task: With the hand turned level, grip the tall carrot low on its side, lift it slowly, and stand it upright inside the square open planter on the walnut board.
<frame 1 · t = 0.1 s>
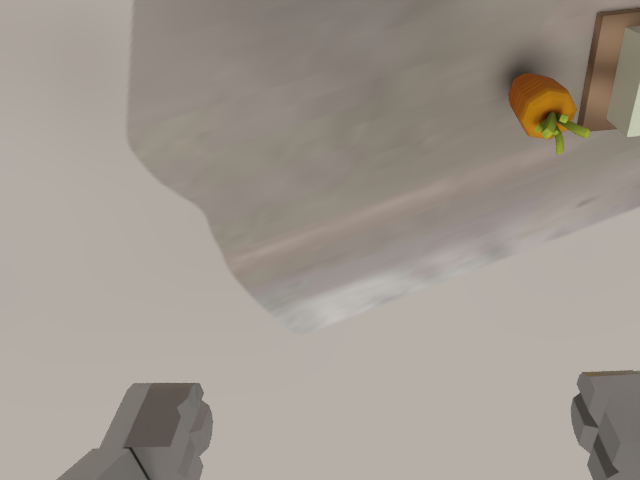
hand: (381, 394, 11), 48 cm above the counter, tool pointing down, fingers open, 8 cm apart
carrot: (517, 80, 53), on the counter
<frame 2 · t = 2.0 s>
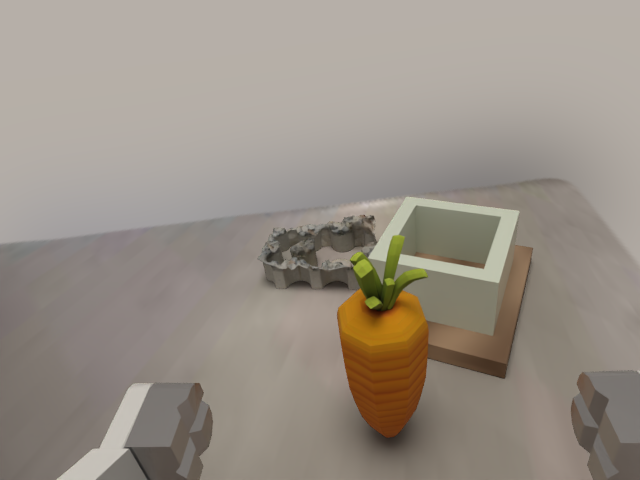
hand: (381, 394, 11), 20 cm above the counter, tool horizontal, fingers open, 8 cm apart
walnut board: (444, 296, 42), on the counter
carrot: (389, 435, 32), on the counter
egg carton: (322, 270, 47), on the counter
square open planter: (445, 259, 39), on the walnut board, point 4 cm above the counter
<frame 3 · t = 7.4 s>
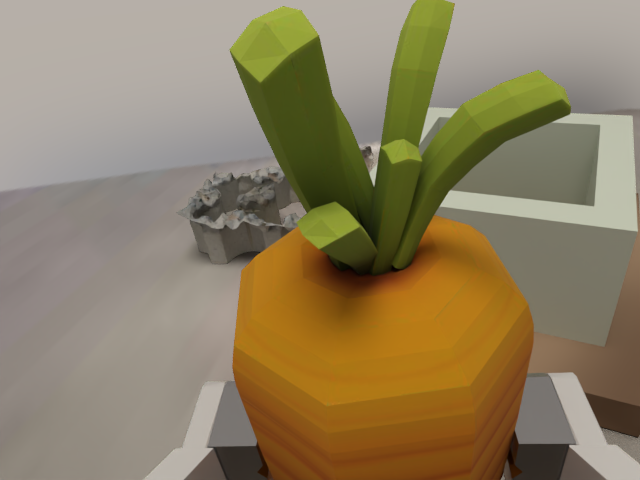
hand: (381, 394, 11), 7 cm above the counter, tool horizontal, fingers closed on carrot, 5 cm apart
walnut board: (490, 275, 24), on the counter
egg carton: (290, 236, 30), on the counter
square open planter: (496, 205, 22), on the walnut board, point 4 cm above the counter
when the fingers open (11 cm above the counter, at t = 15.8 s): carrot drops 2 cm, resting on walnut board.
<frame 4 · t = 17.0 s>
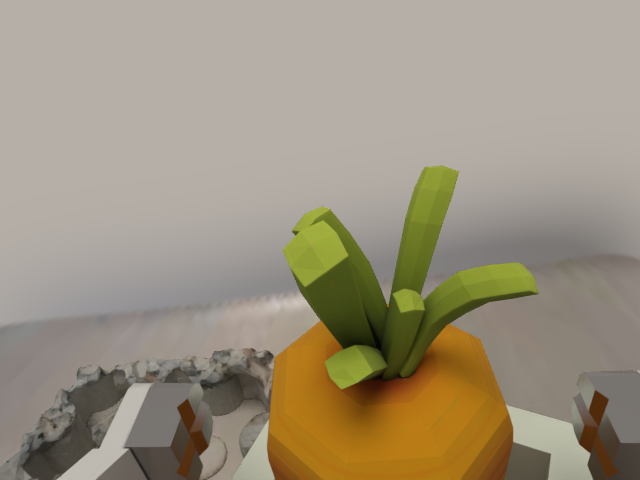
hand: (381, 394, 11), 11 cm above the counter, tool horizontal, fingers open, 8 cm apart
egg carton: (169, 465, 23), on the counter
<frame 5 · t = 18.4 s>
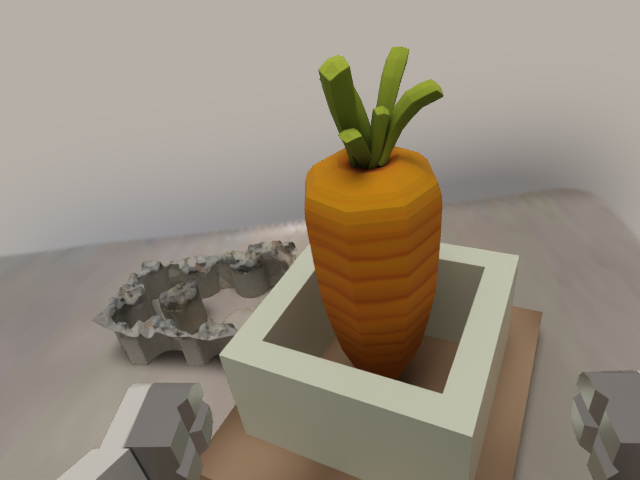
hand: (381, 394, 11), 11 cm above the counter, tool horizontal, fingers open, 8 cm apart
walnut board: (386, 402, 24), on the counter
carrot: (383, 386, 23), point 1 cm above the counter, touching walnut board
egg carton: (215, 330, 30), on the counter
square open planter: (382, 344, 21), on the walnut board, point 4 cm above the counter
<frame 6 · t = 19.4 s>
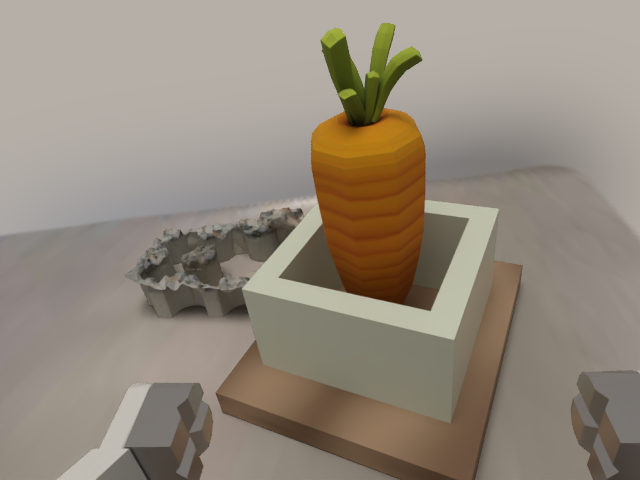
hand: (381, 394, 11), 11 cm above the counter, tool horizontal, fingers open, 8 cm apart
walnut board: (384, 342, 27), on the counter
carrot: (382, 327, 26), point 1 cm above the counter, touching walnut board
egg carton: (231, 288, 33), on the counter
square open planter: (380, 287, 25), on the walnut board, point 4 cm above the counter
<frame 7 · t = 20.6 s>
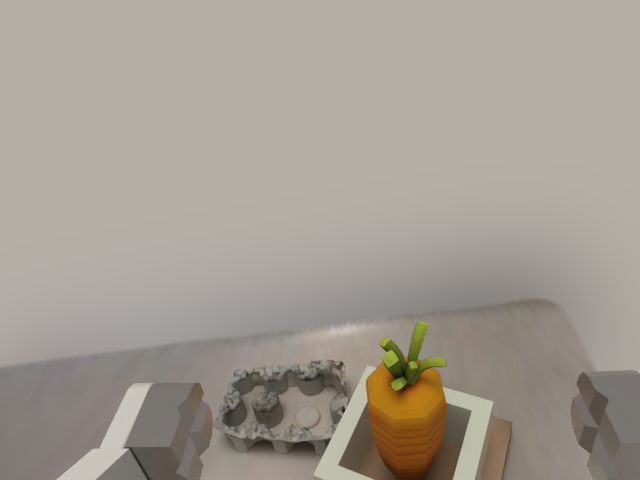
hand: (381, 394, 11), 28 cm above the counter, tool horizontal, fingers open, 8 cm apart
carrot: (408, 478, 36), point 1 cm above the counter, touching walnut board
egg carton: (289, 421, 43), on the counter
square open planter: (408, 457, 34), on the walnut board, point 4 cm above the counter
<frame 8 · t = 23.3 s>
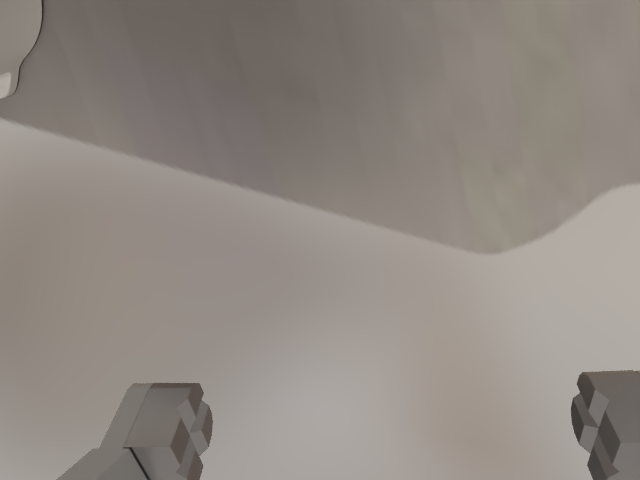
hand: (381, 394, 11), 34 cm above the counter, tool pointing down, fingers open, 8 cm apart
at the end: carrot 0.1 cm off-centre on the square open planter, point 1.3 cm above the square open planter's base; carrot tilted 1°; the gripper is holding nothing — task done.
